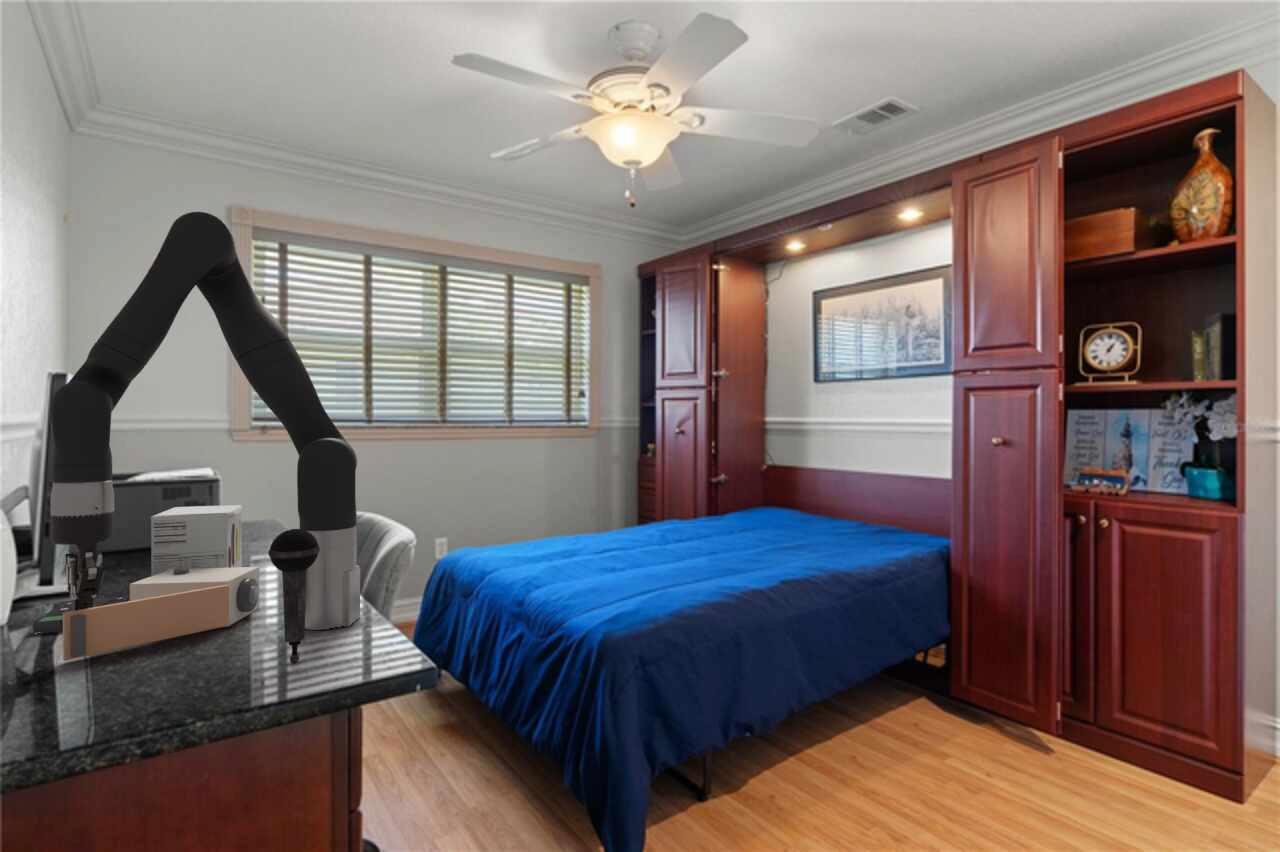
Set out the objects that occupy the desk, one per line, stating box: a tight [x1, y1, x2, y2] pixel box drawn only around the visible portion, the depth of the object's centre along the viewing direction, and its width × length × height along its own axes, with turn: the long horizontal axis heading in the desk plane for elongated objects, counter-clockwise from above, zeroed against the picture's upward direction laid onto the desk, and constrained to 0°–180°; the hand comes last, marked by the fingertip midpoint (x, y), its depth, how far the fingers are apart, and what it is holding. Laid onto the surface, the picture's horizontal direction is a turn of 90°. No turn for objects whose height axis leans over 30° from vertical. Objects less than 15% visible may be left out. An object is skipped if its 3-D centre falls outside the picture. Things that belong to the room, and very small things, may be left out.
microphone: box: [267, 528, 320, 664], centre depth 98 cm, size 7×7×20 cm
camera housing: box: [129, 566, 260, 628], centre depth 120 cm, size 18×12×9 cm
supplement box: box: [150, 504, 243, 577], centre depth 137 cm, size 17×13×18 cm
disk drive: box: [32, 595, 130, 633], centre depth 120 cm, size 10×3×15 cm
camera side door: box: [62, 585, 230, 661], centre depth 106 cm, size 22×2×7 cm, turn 141°
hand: (82, 621), depth 101 cm, fingers closed
